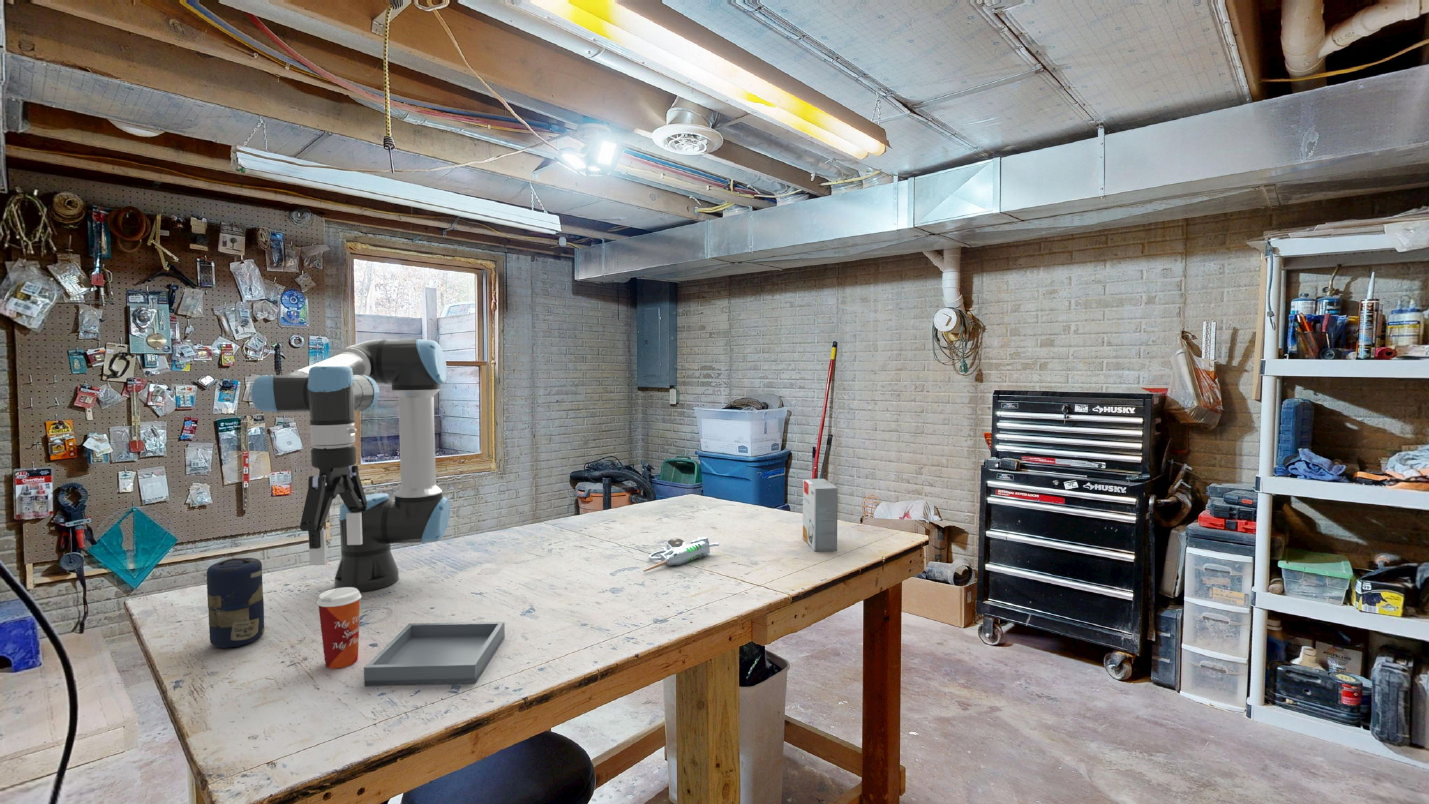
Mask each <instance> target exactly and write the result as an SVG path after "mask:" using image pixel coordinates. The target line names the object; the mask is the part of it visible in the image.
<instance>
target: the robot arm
mask: <svg viewBox="0 0 1429 804" xmlns="http://www.w3.org/2000/svg"><path fill="white" fill-rule="evenodd" d="M447 374H448V369H447V361H446V357H445V353H444V351H443V349H442V347H441V345H440V344H439V343H438V342H437V341H435V340H433V339H432V340H431V339H422V338H418V339H417V338H416V339H414V338H412V339H384V338H383V339H381V338H380V339H372V340H366V341H363V342H358V343H356V344H353V345H349V346H347V347H344V348H341V349H338V350H337V351H336V352H334V354H332V356H331V357H328V358H326V359H324V360H320V361H318V362H315V363H313V364H311V365H307V366H304V367H303V368H302V367H301V368H300V369H297V370H294V371H291V372H288V373H286V374H279V375H277V374H270V375H268V374H267V375H260V376H258V377H256V378H255V379H254V380H253V383H252V385H251V391H250V394H251V401H252V404H253V405H254V407H255V408H256V409H257V410H258V411H260V412H266V413H276V414H279V413H298V412H299V413H304V412H309V418H310V419H309V430H310V433H309V435H310V437H309V439H310V440H309V441H310V445H311V446H314V447H312V449H311V450H310V454H311V455H310V456H311V457H310V459H311V460H310V461H311V467H313V468H314V469H318V470H319V471H318V475H310V476H308V485H307V487H308V489H307V491H306V492H307V493H306V497H305V502H304V506H303V509H302V510H303V511H302V515H301V519H300V524H299V529H300V530H301V531H302V532H307V533H308V551H309V552H308V553H309V554H308V555H309V566H326V565H327V564H328V557H327V552H328V551H327V530H326V528H325V529H324V525H325V523H326V520H327V517H328V514H329V511H330V509H331V505H332V504H333V500H334V499H336V498H337V496H338V495H339V497H340V498H341V501H342V504H341V505H340V506H339V519H338V521H339V533H340V534H339V535H340V552H341V553H340V555H341V557H340V561H339V564H338V567H337V570H336V573H335V575H334V589H336V588H343V587H353V588H357V589H358V591H359V593H361V592H369V591H373V590H379V589H382V588H386V587H388V586H390V585H394V583H396V582H398V580H399V579H400V577H399V576H400V575H399V574H400V573H399V568H398V566H397V564H396V561H395V559H394V556H393V554H392V551H391V544H413V543H414V544H418V543H420V544H425V543H432V542H433V543H435V542H439V541H441V539H442V538H443V537H444V536H445V534H446V531H447V529H448V525H449V522H450V516H451V504H450V503H451V502H450V499H449V498H448V497H445V496H443V490H442V489H441V488H440V487H439V486H438V485H437V482H436V481H437V477H436V475H437V474H436V471H437V470H436V438H435V434H436V433H435V432H436V431H435V398H434V397H435V396H436V395H437V394H438V393H439V391H440V390H441V389H440V388H441V386H440V385H442V384H444V383H446V381H447ZM380 384H381V385H382V384H384V385H385V384H387V385H388V384H389V385H390V384H391V392H392V393H393V394H395V395H396V396H397V398H398V399H397V400H398V427H399V428H398V429H399V462H400V463H399V464H400V465H399V466H400V469H399V471H400V488H399V489H398V490H397V491H395V494H394V499H390V498H391V497H390V495H389V494H388V493H386V492H380V493H379V492H378V493H372V494H367V495H366V493H365V490H364V487H363V484H362V481H361V477H360V472H359V466H358V465H357V464H356V463H357V448H356V446H355V445H353V444H354V443H356V433H357V428H356V426H355V424H356V419H355V414H356V413H355V412H362V411H365V410H367V409H369V408H371V407H373V406H374V405H375V404H377V402H378V400H379V398H380V395H381V394H380V392H381V390H380V388H379V385H380Z"/></svg>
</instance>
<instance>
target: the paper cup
mask: <svg viewBox="0 0 1429 804" xmlns="http://www.w3.org/2000/svg"><path fill="white" fill-rule="evenodd" d="M361 598H362V594H361V592H359V591H358V589H357V588H353V587H343V588H336V589H335V588H333V589H329V590H326V591H325V590H324V591H322V592H321V593H320V594H319V595H318V599H317V600H316V605H317V606H318V614H319V621H320V630H321V640H322V641H321V642H322V648H323V649H322V650H323V656H324V663H325V664H324V665H325V667H326V668H327V669H330V670H331V669H332V670H335V669H342V668H343V669H344V668H347V667H350V666H352V665H354V664H355V663H357V661H358V659H359V640H360V606H361V605H360V603H361Z"/></svg>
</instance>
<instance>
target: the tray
mask: <svg viewBox="0 0 1429 804" xmlns="http://www.w3.org/2000/svg"><path fill="white" fill-rule="evenodd" d="M505 632H506V629H505V621H474V622H473V621H472V622H471V621H470V622H468V621H467V622H422V623H420V622H419V623H408V624H407V625H406V626H405V627H404V628H403V629H402V630H401V631H400V632H399V633H397V635H396V636H394V638H392V640H390V641H389V643H387V644H386V645H385V646H384V647H383V648H382V649H381V650H380V651H379V652H378V653H377V654H376V655H375V656H374V657H373V658H371V660H370V661H369V662H368V663H367V664H366V665H365V666H364V667H363V680H364V681H363V682H364V683H363V684H364V687H376V686H377V687H381V686H384V687H386V686H416V685H417V686H418V685H419V686H420V685H422V686H425V685H426V686H427V685H459V684H460V685H461V684H462V685H464V684H468V685H469V684H476V683H477V682H478V680H479V679H480V678H481V676H482V674H483V672H484V671H485V669H486V668H487V666H488V665H489V664H490V661H491V660H492V658H493V656H494V655H495V654H496V652H497V651H498V649H499V648H500V646H501V644H502V643H503V641H504V640H505V637H506V634H505Z"/></svg>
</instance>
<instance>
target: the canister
mask: <svg viewBox="0 0 1429 804" xmlns="http://www.w3.org/2000/svg"><path fill="white" fill-rule="evenodd" d="M262 564H263V563H262V561H261V560H260V559H258V558H255V557H232V558H229V559H225V560H221V561H219V562H216V563H214V564H212V565H210V566H209V567H208V568H207V570H206V593H207V607H208V629H209V630H208V631H209V641H210V644H211V645H212V646H214V647H215V648H235V647H239V646H240V647H241V646H244V645H246V644H249V643H250V644H251V643H253V642H254V641H256V640H258V639H259V638H261V637H262V636H263V635H264V633H265V607H264V606H265V603H264V591H263V590H264V588H263V587H264V586H263V583H264V582H263V565H262Z"/></svg>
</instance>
